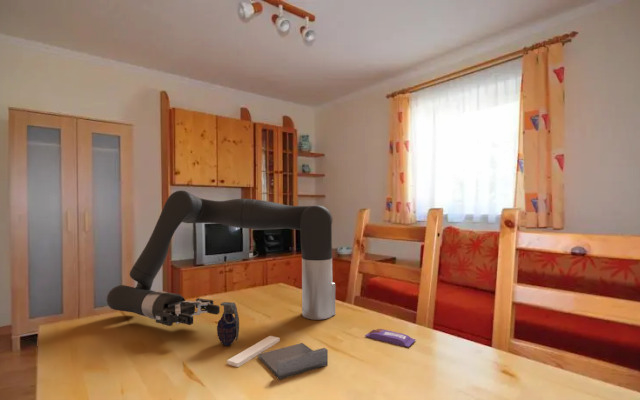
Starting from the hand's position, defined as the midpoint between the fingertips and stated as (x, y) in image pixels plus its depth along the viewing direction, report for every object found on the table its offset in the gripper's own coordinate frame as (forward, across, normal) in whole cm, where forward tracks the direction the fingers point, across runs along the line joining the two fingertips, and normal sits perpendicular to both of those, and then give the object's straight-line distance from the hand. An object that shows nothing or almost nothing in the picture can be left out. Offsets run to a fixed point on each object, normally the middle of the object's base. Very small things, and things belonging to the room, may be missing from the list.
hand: (206, 315), depth 84 cm
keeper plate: (+26, 0, +6) cm, 27 cm away
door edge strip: (+16, 0, +6) cm, 17 cm away
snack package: (+41, +21, +7) cm, 47 cm away
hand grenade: (+8, 0, +6) cm, 10 cm away
